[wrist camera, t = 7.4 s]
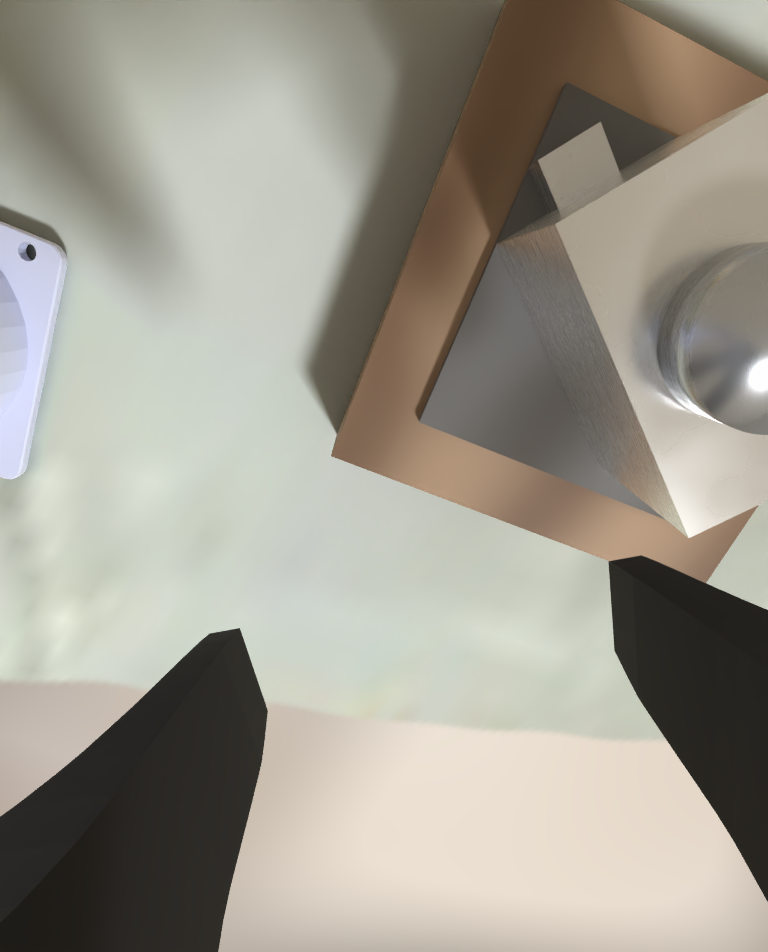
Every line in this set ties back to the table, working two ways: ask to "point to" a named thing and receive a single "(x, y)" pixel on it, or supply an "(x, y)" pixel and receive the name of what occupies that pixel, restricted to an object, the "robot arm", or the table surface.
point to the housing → (660, 310)
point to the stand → (496, 298)
